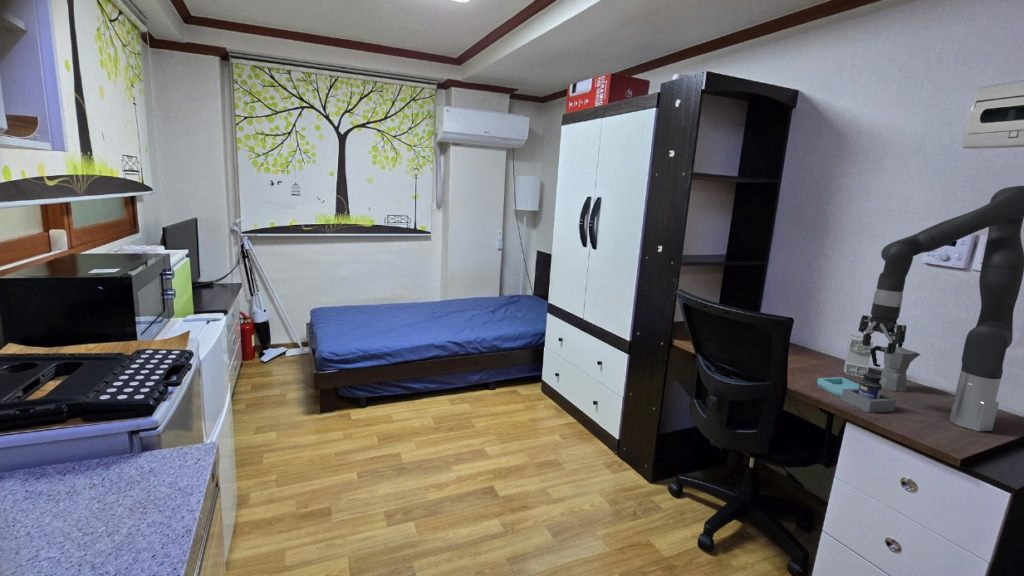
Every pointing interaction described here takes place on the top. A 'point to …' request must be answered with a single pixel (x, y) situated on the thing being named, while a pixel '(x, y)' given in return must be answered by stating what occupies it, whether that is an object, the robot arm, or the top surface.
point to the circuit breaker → (857, 356)
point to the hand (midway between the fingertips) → (877, 349)
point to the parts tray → (836, 385)
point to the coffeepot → (894, 367)
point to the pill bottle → (870, 386)
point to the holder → (868, 401)
